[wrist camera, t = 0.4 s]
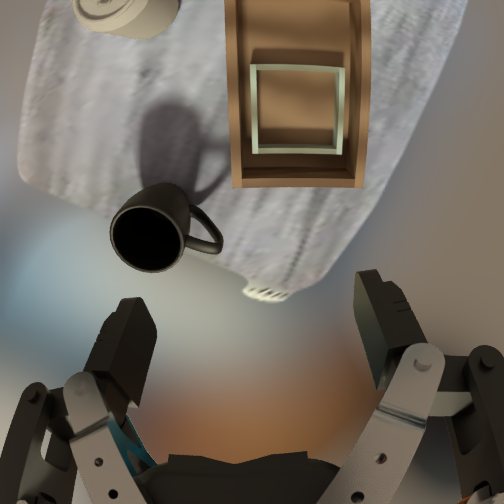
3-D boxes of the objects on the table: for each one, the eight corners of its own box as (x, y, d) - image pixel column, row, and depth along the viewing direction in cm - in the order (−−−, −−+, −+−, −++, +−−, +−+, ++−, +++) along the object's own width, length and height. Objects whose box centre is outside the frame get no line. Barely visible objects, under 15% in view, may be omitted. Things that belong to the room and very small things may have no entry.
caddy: (228, -7, 25) (223, -19, 20) (354, -2, 24) (369, -11, 20) (235, 173, 36) (232, 188, 32) (350, 173, 36) (362, 188, 32)
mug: (220, 243, 42) (213, 288, 34) (134, 224, 40) (108, 264, 32) (235, 186, 37) (229, 222, 29) (140, 166, 36) (110, 196, 28)
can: (180, -21, 23) (148, -57, 13) (180, 35, 27) (146, 19, 17) (118, -9, 23) (67, -32, 13) (118, 45, 27) (64, 40, 17)
